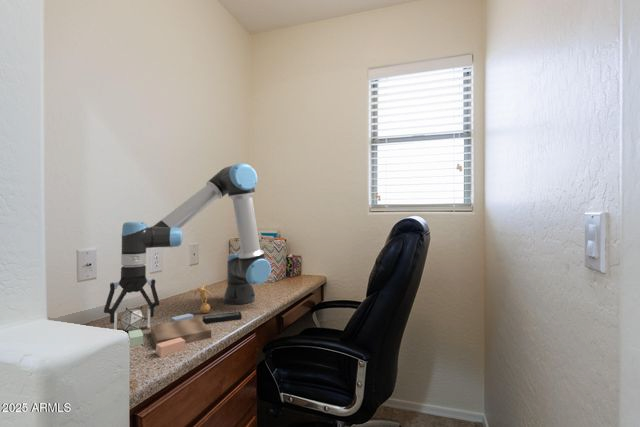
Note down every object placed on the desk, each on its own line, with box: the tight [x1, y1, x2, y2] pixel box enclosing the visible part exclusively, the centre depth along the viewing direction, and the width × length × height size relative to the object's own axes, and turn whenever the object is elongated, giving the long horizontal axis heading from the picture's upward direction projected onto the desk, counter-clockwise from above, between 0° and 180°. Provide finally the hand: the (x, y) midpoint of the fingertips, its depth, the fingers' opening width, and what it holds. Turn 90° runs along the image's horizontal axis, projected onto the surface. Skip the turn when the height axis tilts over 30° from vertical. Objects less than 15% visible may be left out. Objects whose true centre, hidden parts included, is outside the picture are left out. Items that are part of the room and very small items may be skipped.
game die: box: [117, 306, 147, 331], centre depth 108 cm, size 9×8×10 cm
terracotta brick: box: [155, 337, 186, 358], centre depth 91 cm, size 7×4×3 cm, turn 139°
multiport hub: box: [201, 311, 243, 325], centre depth 120 cm, size 4×14×2 cm, turn 113°
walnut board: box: [150, 317, 212, 345], centre depth 104 cm, size 16×16×2 cm
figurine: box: [194, 285, 214, 314], centre depth 128 cm, size 8×6×12 cm
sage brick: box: [127, 328, 144, 347], centre depth 98 cm, size 7×4×3 cm, turn 36°
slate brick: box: [170, 313, 195, 322], centre depth 115 cm, size 7×4×3 cm, turn 139°
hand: (132, 329), depth 108 cm, fingers closed on game die, 9 cm apart
